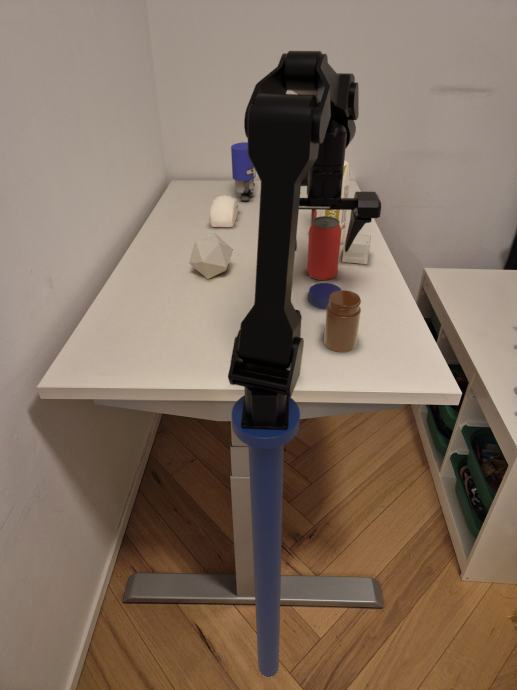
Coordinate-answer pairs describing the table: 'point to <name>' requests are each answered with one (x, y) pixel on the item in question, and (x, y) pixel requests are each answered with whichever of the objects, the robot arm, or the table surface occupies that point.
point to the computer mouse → (223, 211)
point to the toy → (242, 170)
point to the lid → (321, 294)
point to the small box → (358, 250)
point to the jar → (342, 321)
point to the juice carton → (345, 188)
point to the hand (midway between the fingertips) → (320, 250)
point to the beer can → (324, 248)
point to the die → (210, 255)
